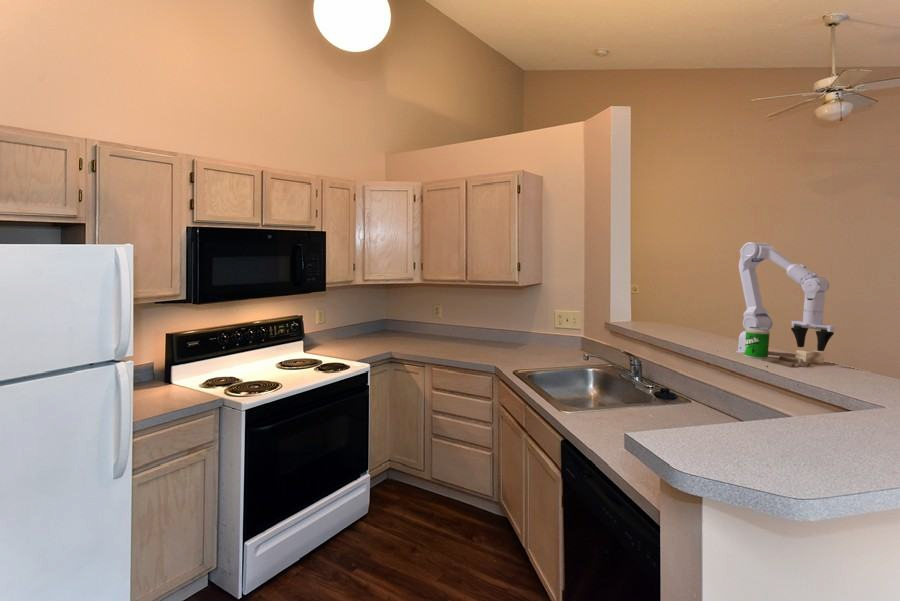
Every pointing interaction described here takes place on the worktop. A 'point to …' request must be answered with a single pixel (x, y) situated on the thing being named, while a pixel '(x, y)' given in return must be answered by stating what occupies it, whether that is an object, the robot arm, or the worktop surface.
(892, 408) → the worktop surface
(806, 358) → the birch bar
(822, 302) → the robot arm
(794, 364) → the cradle
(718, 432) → the worktop surface
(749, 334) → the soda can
